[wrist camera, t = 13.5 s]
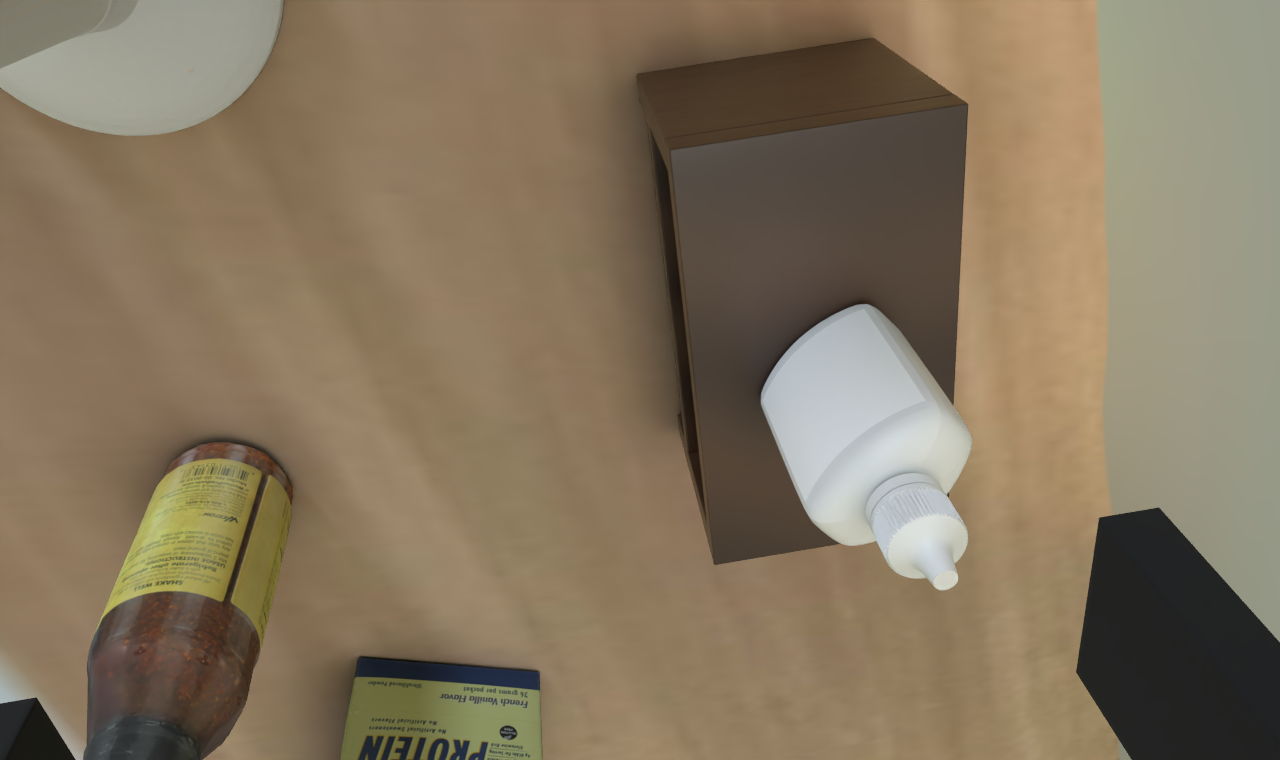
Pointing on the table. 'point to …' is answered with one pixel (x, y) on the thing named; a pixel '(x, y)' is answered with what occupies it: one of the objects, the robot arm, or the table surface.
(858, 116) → the dark brown wooden stand
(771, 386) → the eye dropper bottle
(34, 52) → the candlestick
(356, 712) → the protein box
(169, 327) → the table surface
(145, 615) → the sauce bottle
